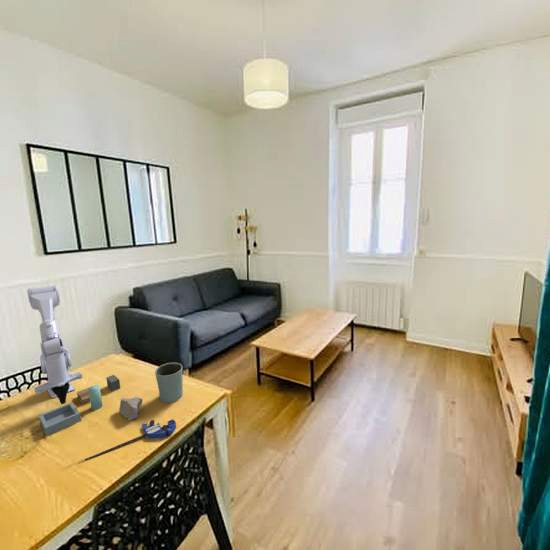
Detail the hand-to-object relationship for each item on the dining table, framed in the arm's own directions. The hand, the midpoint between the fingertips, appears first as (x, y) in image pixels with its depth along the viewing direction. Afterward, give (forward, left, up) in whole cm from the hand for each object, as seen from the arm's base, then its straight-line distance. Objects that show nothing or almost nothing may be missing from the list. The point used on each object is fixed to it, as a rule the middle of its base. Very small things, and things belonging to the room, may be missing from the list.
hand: (63, 402), depth 115 cm
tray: (+9, -3, -2) cm, 10 cm away
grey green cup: (+25, +31, -2) cm, 40 cm away
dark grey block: (0, +18, -2) cm, 18 cm away
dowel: (+9, +9, -2) cm, 13 cm away
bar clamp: (+37, +7, -3) cm, 38 cm away
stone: (+23, +16, -2) cm, 28 cm away
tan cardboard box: (0, +9, -3) cm, 9 cm away
